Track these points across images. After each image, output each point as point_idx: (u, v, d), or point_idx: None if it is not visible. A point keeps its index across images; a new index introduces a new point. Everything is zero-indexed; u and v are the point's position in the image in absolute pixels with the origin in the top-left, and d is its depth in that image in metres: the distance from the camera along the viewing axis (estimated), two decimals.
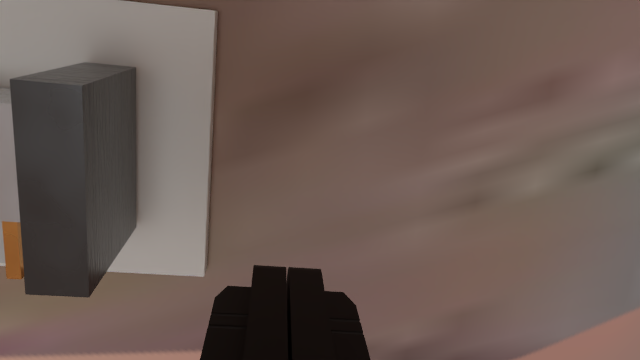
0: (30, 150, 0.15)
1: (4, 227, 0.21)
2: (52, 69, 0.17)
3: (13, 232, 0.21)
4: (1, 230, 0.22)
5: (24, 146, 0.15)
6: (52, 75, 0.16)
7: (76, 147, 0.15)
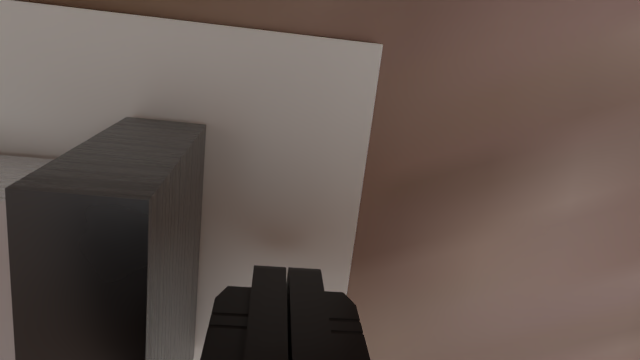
0: (42, 318, 0.08)
1: None
2: (81, 143, 0.10)
3: None
4: None
5: (31, 312, 0.08)
6: (85, 164, 0.09)
7: (131, 311, 0.08)
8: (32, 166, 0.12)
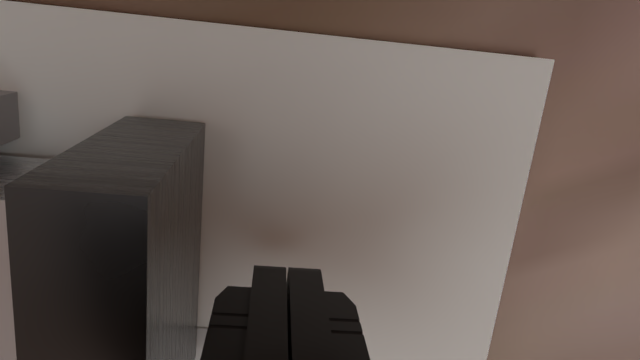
0: (43, 316, 0.08)
1: None
2: (81, 141, 0.10)
3: None
4: None
5: (31, 310, 0.08)
6: (84, 162, 0.09)
7: (132, 309, 0.08)
8: (32, 166, 0.12)
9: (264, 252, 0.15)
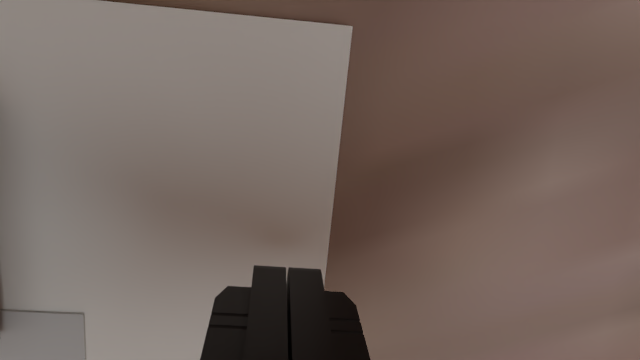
0: None
1: None
2: None
3: None
4: (19, 353, 0.15)
5: None
6: None
7: None
8: None
9: (66, 231, 0.14)
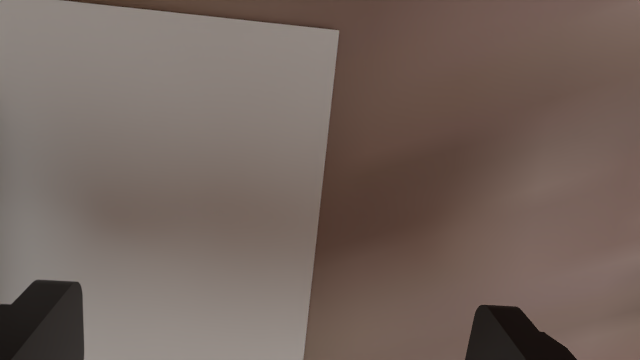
0: None
1: None
2: None
3: None
4: None
5: None
6: None
7: None
8: None
9: (51, 233, 0.14)
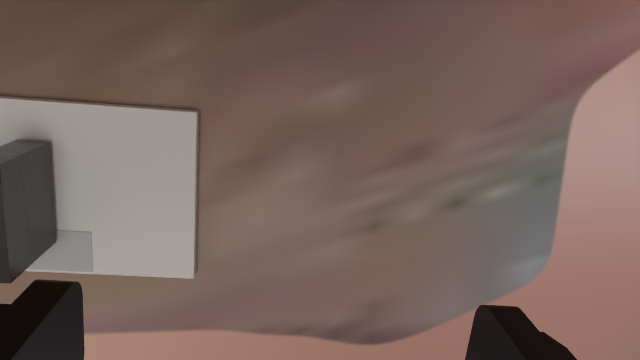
0: None
1: None
2: None
3: None
4: (63, 249, 0.35)
5: None
6: None
7: None
8: None
9: (83, 196, 0.34)
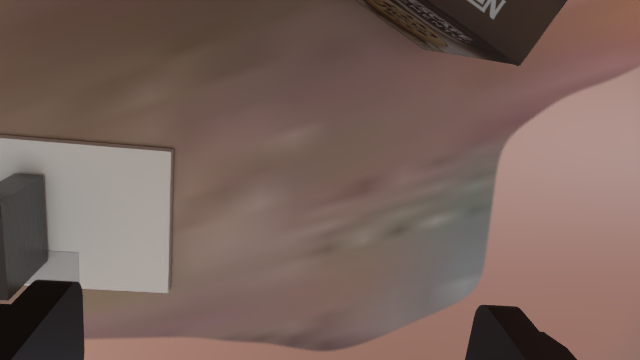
0: None
1: None
2: None
3: None
4: (54, 267, 0.40)
5: None
6: None
7: None
8: None
9: (72, 221, 0.39)
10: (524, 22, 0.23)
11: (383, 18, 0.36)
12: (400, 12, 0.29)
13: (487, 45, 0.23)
